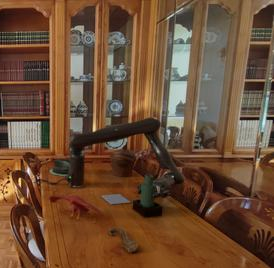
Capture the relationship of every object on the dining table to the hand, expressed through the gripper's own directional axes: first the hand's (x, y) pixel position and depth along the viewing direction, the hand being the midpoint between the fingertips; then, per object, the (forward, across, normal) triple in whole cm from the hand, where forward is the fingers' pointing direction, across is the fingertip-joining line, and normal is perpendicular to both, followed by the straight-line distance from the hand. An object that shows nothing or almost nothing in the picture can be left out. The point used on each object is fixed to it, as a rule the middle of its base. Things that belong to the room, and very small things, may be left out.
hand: (145, 194), depth 109 cm
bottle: (-2, 0, +10) cm, 10 cm away
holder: (-2, 0, +10) cm, 10 cm away
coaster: (-4, -17, +10) cm, 20 cm away
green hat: (-19, -69, +10) cm, 72 cm away
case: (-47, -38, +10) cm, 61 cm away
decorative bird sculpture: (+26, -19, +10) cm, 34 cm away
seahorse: (+28, +4, +10) cm, 30 cm away
